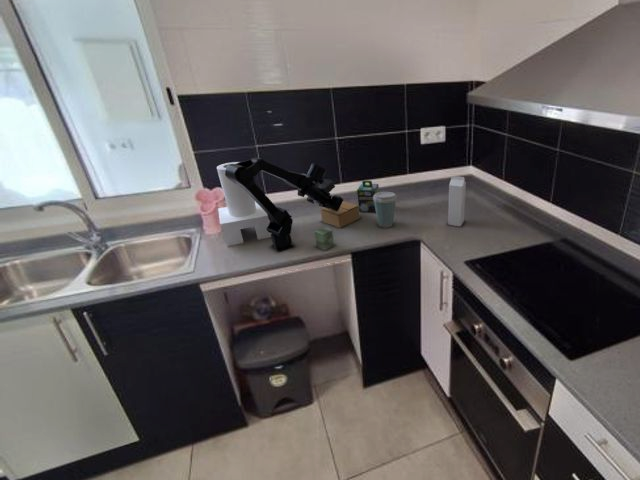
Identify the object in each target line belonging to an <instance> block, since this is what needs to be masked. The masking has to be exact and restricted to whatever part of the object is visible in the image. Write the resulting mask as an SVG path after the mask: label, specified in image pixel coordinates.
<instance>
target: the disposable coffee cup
mask: <svg viewBox="0 0 640 480" xmlns="http://www.w3.org/2000/svg"><path fill="white" fill-rule="evenodd" d="M397 199H398V195H396V193H395V192H391V191H379V193H376V194H375V195H374V196H373V200H374V205H375V210H376V212H375V215H376V221H377V224H378V226H379V227H380V228H390V227H392V226H393V224H394V218H395V210H396V203H397Z"/></svg>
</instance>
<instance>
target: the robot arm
mask: <svg viewBox="0 0 640 480" xmlns="http://www.w3.org/2000/svg"><path fill="white" fill-rule="evenodd" d="M238 162H239V163H237V164H230V165H228V166H227V168H226V170H225V175H226V177H227V178H228V179H229V180H231V181H232V182H233V183H235V184H236V185H238V186H240V187H241V188H243V189H244V190H245V191H246V192H247V193H248V194H249V195H250V196H251V197H252V198H253V199H254V201H255V202H256V203H257V204H258V205H259V206H260V207H261V208H262V209H263V210H264V211H265V212H266V213H267V215H268V219H269V221H270V223H269V224H268V226H267V228H266V229H267V231H268V232H269V233H272V234H271V237H270V238H271V242H272V244H271V247H272V248H273V249H274V250H276V251H277V252H281V251H285V250H287V249H290V248H292V247H294V245H293V241H292V235H291V234H292V227H293V222H294V220H293V218H292V217H293V215H291V214H289V212H288V210H287V209H285V208H282V207H280V206H276V205H275V203H274V202H273V201H272V200H271V199H270V198H269V197H268V196H267V194H265V192H264V191H263V190H262V189H261V188H260V187H259V185H257V183H256V181H255V177H256V176H257V175H258V174H259V173H260V172H264V173H265V174H268V175H271V176H273V177H276V178H277V179H280V180H282V181H283V182H284V183H285V184H287V185H288V186H290V187H293V188H296V189H297V196H298V197H301V198H304V197H306V196H307V197H306V201H307V202H308V203H310V204H312V205H314V204H317V205H318V206H319V207H321V208H324V207H325V208H327V209H331V210H334V211H338V210H339V208H340V206H341V204H342V202H343V201H344V198H343V197H341V196H339V195H336V194H335V195H331V192H332V190H333V189H335V188H336V185H335V183H334V181H333V180H332V179H328V178H324V177H325V175H326V173H327V169H326V168H324V167H322V166H320V165H318V164H317V163H313V162H312V163H311V165H310V167H309V169H308V171H307V173H303V172H302V173H298V172H294V171H290V170H286V169H285V168H282V167H280V166H277V165H275V164H273V163H271V162H270V161H269V162H268V161H267V160H265V159H264V158H261V157H252V158H250V159H247V160H242V161H238ZM323 178H324V179H323Z"/></svg>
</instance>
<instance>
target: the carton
mask: <svg viewBox="0 0 640 480" xmlns="http://www.w3.org/2000/svg"><path fill="white" fill-rule="evenodd" d="M340 208H343V209H346V210H349V211H347V212H345V213H342V214H339V215H337V214H334V213H331V212H328V211H325V210H322V209H320V215H321V221H322V223H325V224H328V225H330V226H333V227H336V228H338V229H341V228H343V227H345V226H347V225H349V224H351V223H353V222H356V221H358V220H360V219H361V216H360V215H361V214H360V212H359V205H358V204H354V203H351V202H348V201H345V200H343V202H342V204H341V206H340Z"/></svg>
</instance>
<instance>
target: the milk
mask: <svg viewBox="0 0 640 480" xmlns="http://www.w3.org/2000/svg"><path fill="white" fill-rule="evenodd" d="M465 179H466V178H465V177H464V176H458V175H451V176H450V181H449V185H448V214H447V216H448V217H447V225H448V226H453V227H454V226H455V227H462V225H463V224H464V222H465V210H466V209H465V207H466V189H467V188H466V187H467V182H466V180H465Z"/></svg>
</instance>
